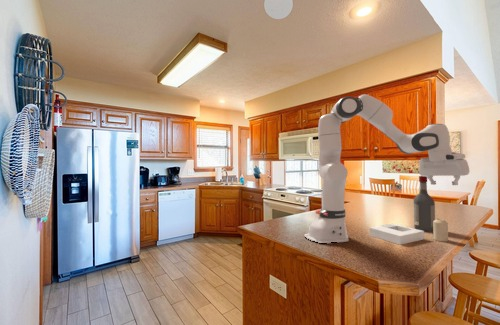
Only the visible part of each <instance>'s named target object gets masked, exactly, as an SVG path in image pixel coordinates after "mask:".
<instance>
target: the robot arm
mask: <svg viewBox="0 0 500 325" xmlns="http://www.w3.org/2000/svg"><path fill="white" fill-rule="evenodd" d="M355 116H358V117H360V118H362V119H363V120H365V121H367V122H368V123H369V124H371V125H372V126H374V127H375V128H376V129H378V130H379V131H380V132H381V133H382V134H384V135H385V136H386V137H387V138H389V139H390V140H391V141H392V142H393V143H394V144H395V145H396V148H398V150H399V152H402V153H403V154H404V155H411V154H415V153H417V154H418V153H422V152H427V154H428V157H421V159H419V161H418V165H419V166H418V169H419V170H418V173H419V176H427V180H429V182H430V185H434V186H435V185H437V181H436V180H435V179H434V177H435V176H438V177H439V176H442V177H443V176H447V177H448V176H451V177H452V176H453V179H454V180H452V181H451V183H452V184H451V185H452V186H458V185H459V180H460V179H461V176H462V177H463V176H464V177H465V176H468V175H469V174H470V166H469V163H468V161H467V160H466V154H465V153H459V152H456V151H453V150H452V147H451V145H450V144H451V136H450V132H449V129H448V127H447V125H446V124H444V123H443V124H442V123H432V124H428V125H426V127H425V128H424V127H423V129H421V130H419V131H417V132H415V133H413V134H409V133H408V134H407V133H404V132H403V131H402V130H401V129H399V128H398V127H397V126H396V125H395V124H394V123H393V117H394V112H393V110H392V109H391V107H389V106H388V105H387V104H385V102H382V101H381V100H379V99H377V98H376V97H374V96H371V95H370V94H361V95H359V96H358V97H355V96H344V97H342V98H340V99H339V100H338V101H336V103H335V104H334V105H333V107H332V108H331V109H330V112H329V113H327V114H323V115H322V116H321V117H320V118H319V120H318V128H317V130H318V132H317V134H318V135H317V136H318V148H319V149H318V150H319V151H318V152H319V155H318V173H319V176H320V178H321V179H322V180H323V181H322V190H321V209H320V210H318V209H316V210H315V214H317V215H319V216H318V217H317V218H316V219H315V220H314V221H313V222H311V224H309V227H308V233H304V235H303V237H304V236H305V237H306V238H307V239H306V238H305V237H304V238H305V239H306V240H308V239H309V240H308V241H310V240H311V241H310V242H312V241H315V242H318V243H317V244H319V243H327V244H332V243H331V242H337V243H346V242H349V235H348V231H347V223H346V220H345V218H346V209H345V189H346V182H347V177H348V169H347V166H345V164H343V163H342V162H341V154H342V148H343V147H342V136H341V124H344V123H346V122H348V121H350V120H352V119H353V118H354V117H355ZM315 242H314V243H315Z"/></svg>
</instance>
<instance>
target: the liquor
mask: <svg viewBox="0 0 500 325" xmlns="http://www.w3.org/2000/svg"><path fill="white" fill-rule="evenodd" d="M418 182H419V193H418V194H416V196H415V197H414V198H413V226H414V229H417V230H422V231H424V232H426V233H427V232H428V233H433V221H434V220H436V210H435V209H436V204H435V203H436V202H435V201H434V199H433V197H431V196H430V194H429V193H428V186H427V183H428V178H427V176H421V175H419V176H418Z"/></svg>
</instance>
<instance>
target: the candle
mask: <svg viewBox="0 0 500 325" xmlns="http://www.w3.org/2000/svg"><path fill="white" fill-rule="evenodd" d="M432 233H433V239H434V240H435V241H438V242H445V243H447V242H448V241H449V222H448V221H446V220H445V219H443V218H442V219H440V218H435V220H434V221H433V232H432Z"/></svg>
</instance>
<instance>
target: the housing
mask: <svg viewBox="0 0 500 325" xmlns="http://www.w3.org/2000/svg"><path fill="white" fill-rule="evenodd" d="M369 236H371V237H374V238H377V239H380V240H382V241H387V242H389V243H393V244H397V245H398V246H399V245H400V246H401V245H405V244H410V243H413V242H419V241H422V240H425V231H422V230H417V229H415V228H412V227H409V226H403V225H400V224H396V223H389V224H384V225H378V226H377V225H376V226H371V227H369Z"/></svg>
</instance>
